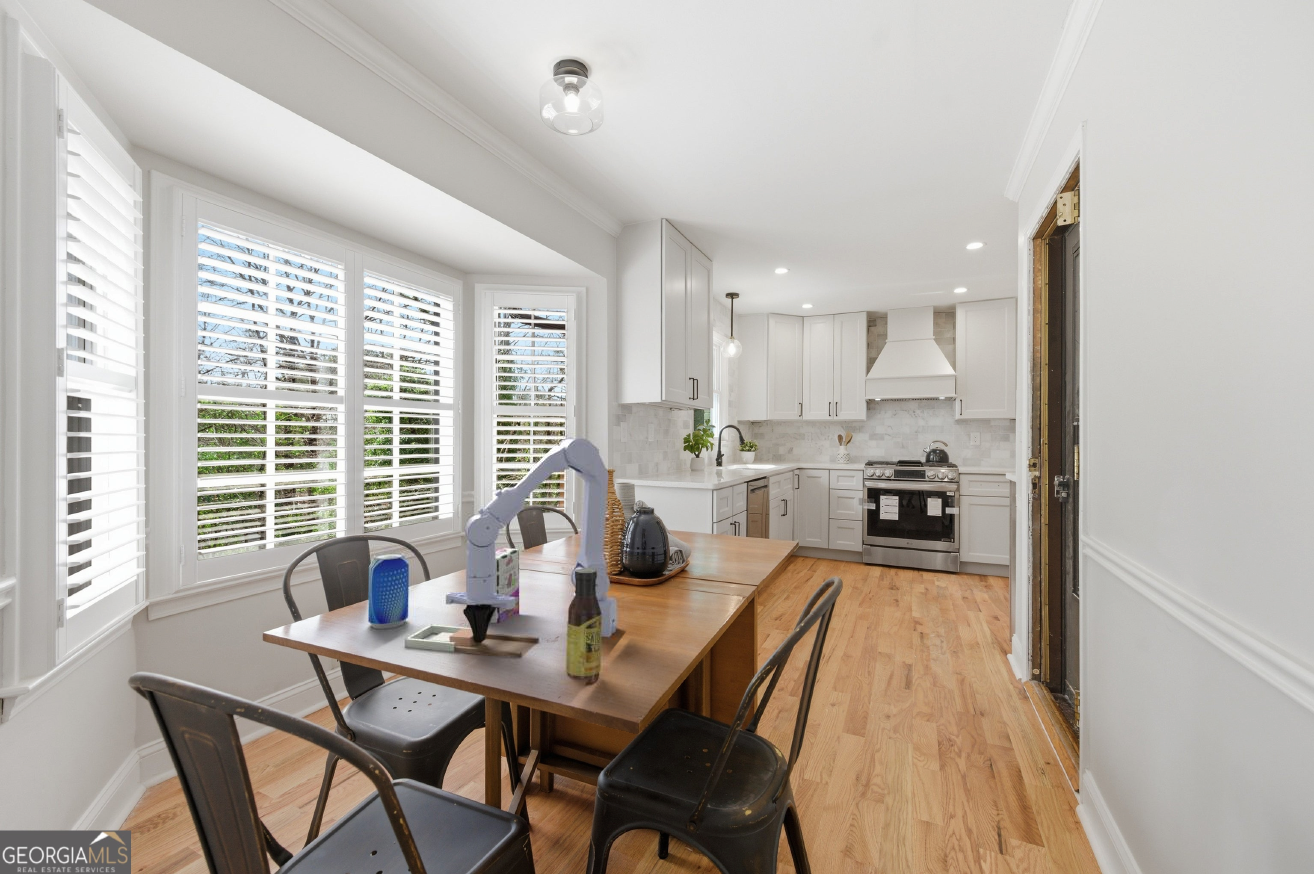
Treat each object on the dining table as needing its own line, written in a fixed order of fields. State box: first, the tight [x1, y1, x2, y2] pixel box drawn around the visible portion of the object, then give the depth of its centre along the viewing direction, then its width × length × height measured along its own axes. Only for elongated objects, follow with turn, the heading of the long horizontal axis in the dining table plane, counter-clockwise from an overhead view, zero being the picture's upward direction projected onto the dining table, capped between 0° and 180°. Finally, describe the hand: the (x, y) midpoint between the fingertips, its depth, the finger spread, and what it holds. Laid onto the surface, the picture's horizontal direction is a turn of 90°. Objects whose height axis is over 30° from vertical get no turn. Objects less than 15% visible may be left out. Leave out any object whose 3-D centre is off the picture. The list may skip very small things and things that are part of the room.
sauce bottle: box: [565, 568, 602, 686], centre depth 104 cm, size 6×6×20 cm
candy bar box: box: [489, 547, 520, 624], centre depth 135 cm, size 11×5×16 cm, turn 168°
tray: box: [404, 624, 472, 652], centre depth 118 cm, size 11×9×3 cm
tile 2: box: [449, 629, 476, 647], centre depth 117 cm, size 4×4×2 cm
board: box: [453, 632, 540, 659], centre depth 115 cm, size 14×9×2 cm, turn 78°
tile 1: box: [429, 632, 454, 642], centre depth 118 cm, size 4×4×2 cm
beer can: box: [367, 552, 410, 630], centre depth 132 cm, size 8×8×16 cm
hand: (480, 640), depth 116 cm, fingers closed
